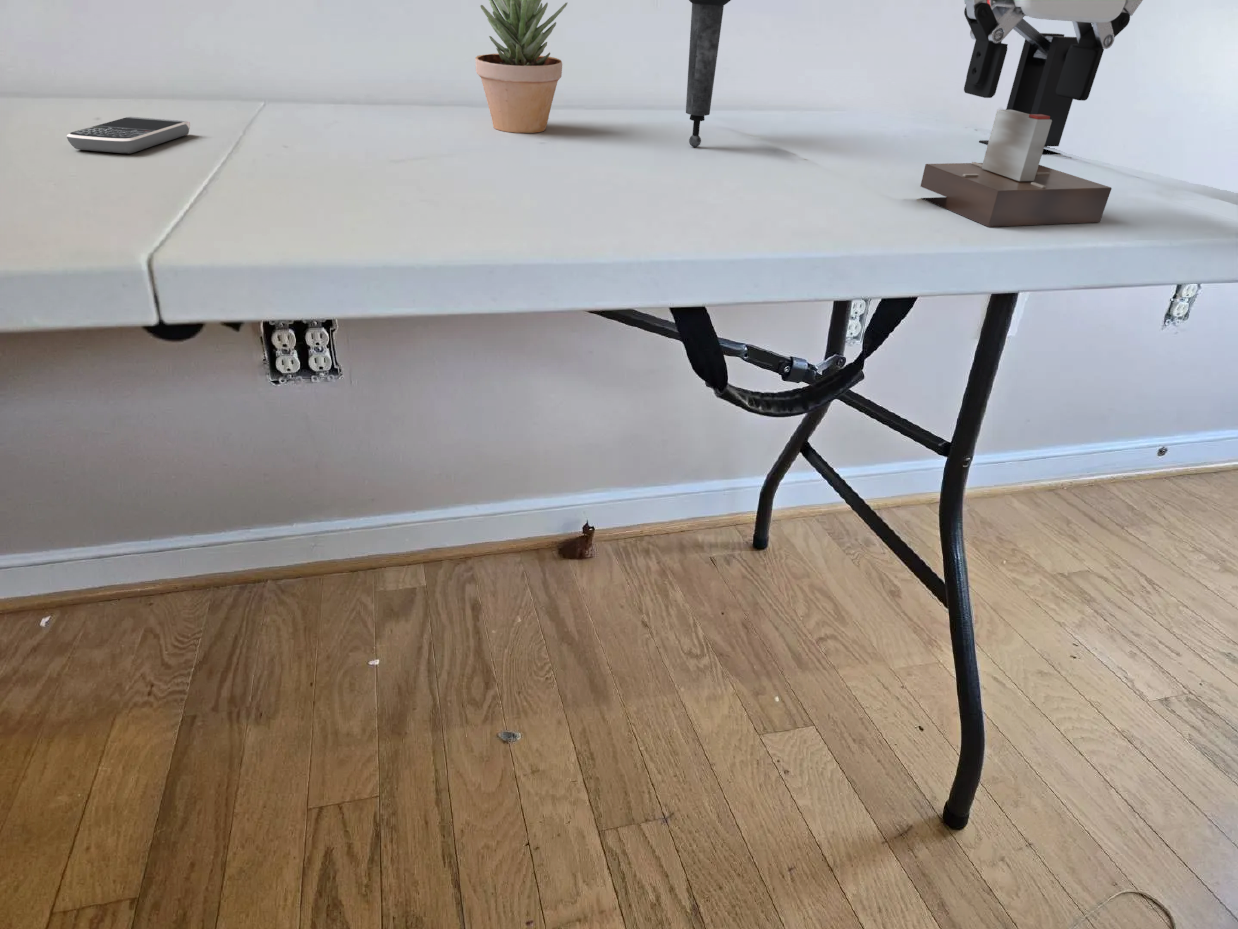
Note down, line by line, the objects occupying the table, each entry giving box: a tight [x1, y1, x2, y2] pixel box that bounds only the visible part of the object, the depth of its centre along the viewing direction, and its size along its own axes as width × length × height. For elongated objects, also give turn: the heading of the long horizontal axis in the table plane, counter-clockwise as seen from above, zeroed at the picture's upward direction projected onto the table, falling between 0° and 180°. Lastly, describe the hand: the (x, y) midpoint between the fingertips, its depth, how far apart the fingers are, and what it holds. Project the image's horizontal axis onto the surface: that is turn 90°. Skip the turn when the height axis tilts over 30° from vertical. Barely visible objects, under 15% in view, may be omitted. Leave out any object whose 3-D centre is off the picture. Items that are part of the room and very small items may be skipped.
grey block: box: [982, 109, 1052, 182], centre depth 74 cm, size 5×2×5 cm, turn 18°
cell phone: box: [66, 116, 191, 155], centre depth 80 cm, size 6×11×1 cm, turn 174°
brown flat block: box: [920, 161, 1113, 228], centre depth 76 cm, size 12×10×3 cm
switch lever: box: [987, 0, 1053, 66], centre depth 92 cm, size 13×3×3 cm, turn 107°
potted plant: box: [475, 0, 568, 134], centre depth 91 cm, size 10×10×25 cm
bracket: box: [978, 32, 1078, 156], centre depth 96 cm, size 8×7×13 cm
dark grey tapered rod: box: [685, 0, 732, 148], centre depth 89 cm, size 7×7×20 cm
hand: (1025, 96), depth 72 cm, fingers open, 9 cm apart
